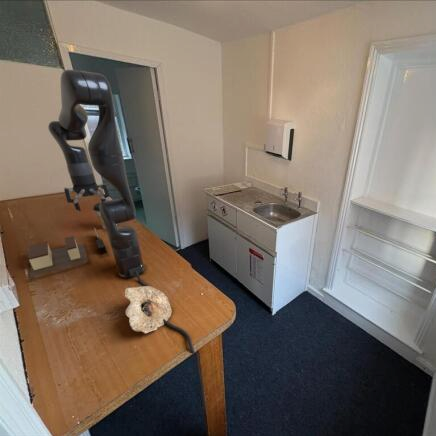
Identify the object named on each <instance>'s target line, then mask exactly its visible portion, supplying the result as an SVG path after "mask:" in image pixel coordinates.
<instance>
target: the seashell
mask: <svg viewBox="0 0 436 436" xmlns="http://www.w3.org/2000/svg"><path fill="white" fill-rule="evenodd" d="M124 297H125V298H127V300H129V301H130V304H129V305H128V306H127V308H126V309H125V315H126V316H127V317H128V318H129V327H131V329H132V330H133V331H135V332H137V333H138V332H142V334H148V333H151V332H153V331H156V330H158V328H161V327H162V326H164V325H165V323H164V322H163V319H165V320H166V321H168V320H169V319H170V317H171V315H172V313H173V312H172V307H171V304H170V301H169V297H168V296H167V295H166V294H165V293H164V292H162V291H161V290H159V289H158V288H156V287H153V286H150V285H148V286H143V285H141V286H136V287H127V288H125V290H124Z"/></svg>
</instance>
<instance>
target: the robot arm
mask: <svg viewBox="0 0 436 436" xmlns="http://www.w3.org/2000/svg"><path fill="white" fill-rule="evenodd" d="M60 101H61V109H60V112H59V115H58V120H52V121H50V122H49V123H48V127H47V128H48V131H49V133H50V135H51V136H52V138H53V140H54V141H55V142H56V143H57V144H58V146H59V148H60V150H61V151H62V154H63V156H64V157H63V158H64V160H65V163H66V168H67V172H68V174H69V179H70V181H71V183H72V187H63V191H64V194H65V198H66V202H67V203H68V204H74V207H75V210H76V211H78V212H81V211H82V210H81V206H80V203H79V201H80V200H81V198H82V197H84V198H85V197H89V196H90V197H91V196H94V195H95V196H97V197H98V198H100V202H99V203H100V204H99V210H100V213H101V216H102V219H103V221H104V224H105V227H106V229H105V230H106V233H107V236H108V240H109V243H110V247H111V251H112V254H113V257H114V260H115V264H116V268H117V271H118V275H119V277H120V278H124V279H126V280H129V279H131V278H134V277H136V278H137V280H138V282H139V284H140V285H141V286H149V285H147V284H146V283H144V282H143V280H142V278H141V276H140V275H143V274H144V271H145V270H146V267H145V263H144V260H143V255H142V252H141V248H140V244H139V239H138V235H137V230H136V229H135V228H134V227H133V226H130V225H129V226H128V225H118V224H122V223H126V222H130V221H133V220H135V219H136V217H137V211H136V206H135V203H134V200H133V199H134V198H133V196H132V192H131V189H130V185H129V181H128V176H127V171H126V164H125V159H124V155H123V154H124V153H123V150H122V146H121V142H120V137H119V133H118V128H117V121H116V113H115V112H116V111H115V106H114V97H113V92H112V88H111V84H110V82H109V81H108V78H107V77H106V76H105V75H104V74H102V73H98V72H91V71H85V70H78V69H65V70H63V71H62V73H61V75H60ZM83 106H96V107H98V121H97V124H96V126H95V127H96V128H95V129H94V130H93V133H92V135H91V137H90V139H89V142H88V146H87V150H88V153H87V151H86V149H85V148H84V147H83V146H78V145H71V144H69V143H68V141H83V140H85V139H86V138H87V131H86V126H87V123H88V120H89V116H88V113H87V110H86V109H85V108H84V107H83ZM88 154H89V157H90V158H89V157H88ZM89 159H90V160H89ZM90 162H91V163H90ZM93 169H94V170H95V171H96V172H97V173H98V175H100V176H101V177H102V178H103V179H105V180H106V181H107V182H108V183H109V184H111V186H112V187H114V188H115V190H117V192H118V193H119V195H120V198H117V199H110V200H106V199H107V198H110V193H109V190H108V187H107V185H106V183H104V182H102V183H100V184H97V181H96V178H95V175H94V171H93ZM99 189H101V190H103V192H104V194H102V193H101V192H99V191H98V190H99ZM72 192H74V193H76V194H75V195H74V198H71V195H70V194H72ZM116 224H117V225H116ZM163 322H164V325H166V326H168V327H169V328H171V329H173V330H176V331H178V332H179V333H181V334H182V335H183V336H184V337H185V338H186V340H187V343H188V347H189V350H190V353H191V354H192V355H194V354H195V349H194V346H193V343H192V339H191V336H190V335H189V334H188V332H187V331H186V330H184V329H183V328H181V327H179V326H177V325H174V324H173V323H171V322H169V321H168V320H167V321H166V320H165V319H163ZM195 369H196V373H197V378H198V382H199V383H198V384H199V389H200V390H199V391H200V396H201V402H202V409H203V411H205V410H206V409H207V406H206V397H205V389H204V385H203V384H204V383H203V378H202V373H201V370H200V369H201V368H200V365H197V366H195Z"/></svg>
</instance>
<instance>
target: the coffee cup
mask: <svg viewBox="0 0 436 436" xmlns="http://www.w3.org/2000/svg"><path fill="white" fill-rule="evenodd" d="M100 203H101V202H98V203H95V204H94V205H93V207H92V209H93V211H94V212H95V215H96V217H97V219H98V222H99V223H100V226H102V228H103V229H104V230H106V227H105V224H104V221H103V219H102V216H101V213H100V210H99V204H100ZM116 225H118V224H116Z"/></svg>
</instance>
